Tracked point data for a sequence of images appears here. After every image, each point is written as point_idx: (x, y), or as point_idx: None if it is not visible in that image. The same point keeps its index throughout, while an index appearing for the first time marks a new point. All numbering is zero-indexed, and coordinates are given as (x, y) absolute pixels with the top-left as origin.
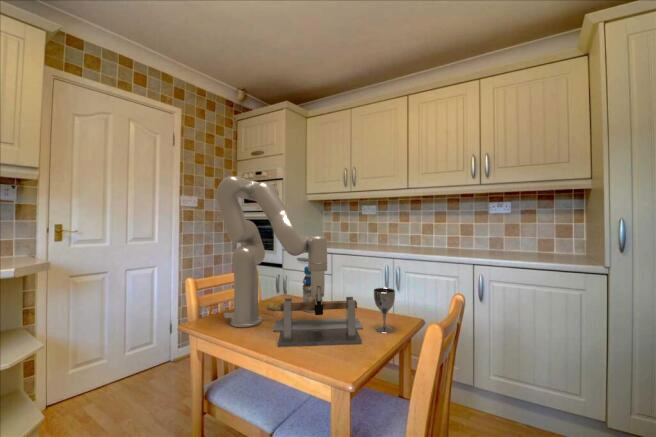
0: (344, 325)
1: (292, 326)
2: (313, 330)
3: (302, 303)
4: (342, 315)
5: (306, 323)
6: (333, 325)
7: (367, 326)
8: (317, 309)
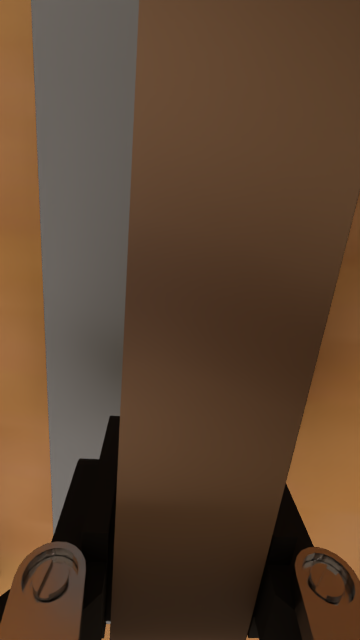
0: None
1: None
2: (48, 325)
3: (223, 305)
4: (353, 551)
5: None
6: None
7: (105, 634)
8: (68, 500)
